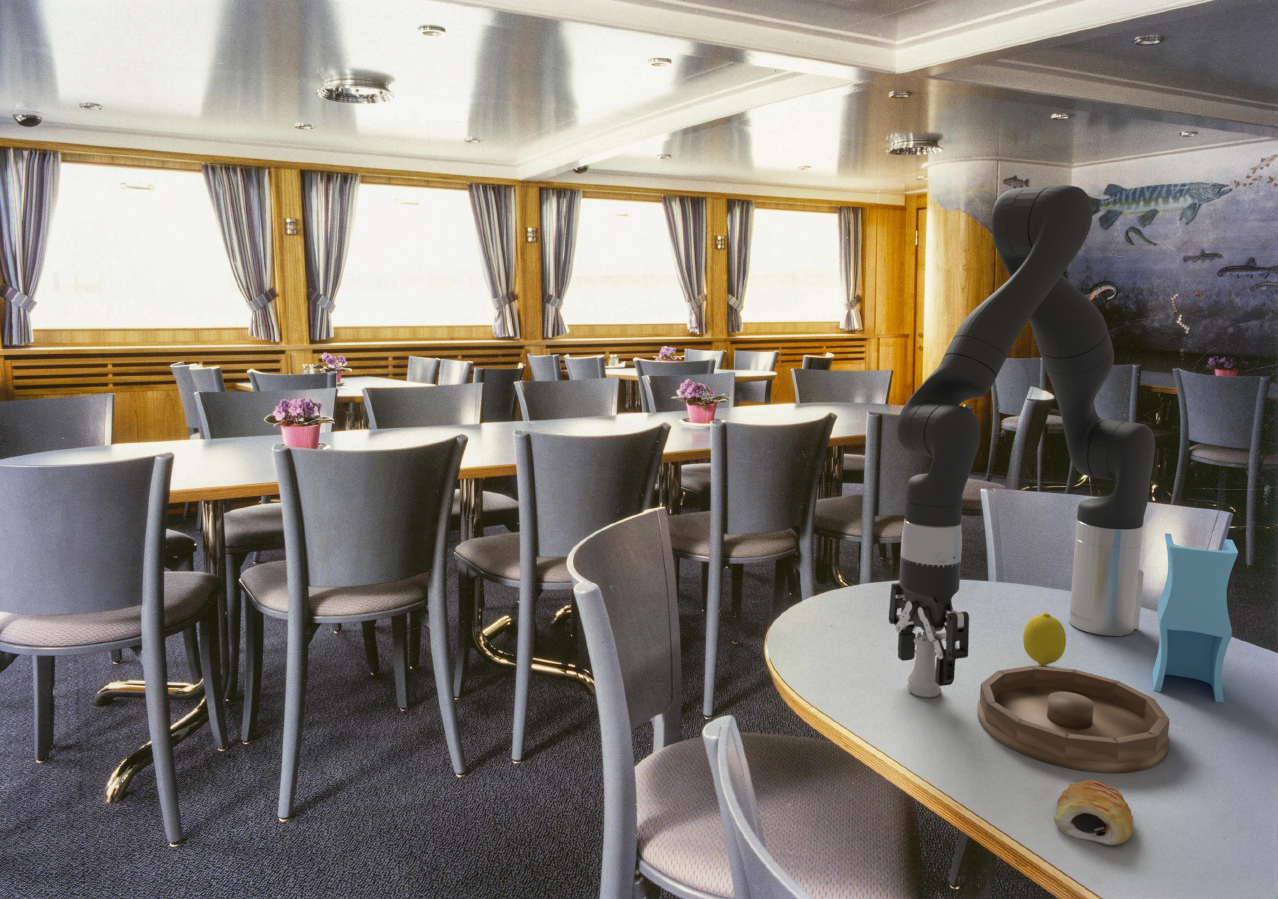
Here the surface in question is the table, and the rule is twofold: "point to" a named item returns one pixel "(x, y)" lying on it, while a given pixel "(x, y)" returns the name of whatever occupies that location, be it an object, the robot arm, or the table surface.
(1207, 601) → the blue wavy stand
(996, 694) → the ring tray
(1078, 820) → the pastry
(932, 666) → the rook chess piece
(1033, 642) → the lemon
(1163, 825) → the table surface
